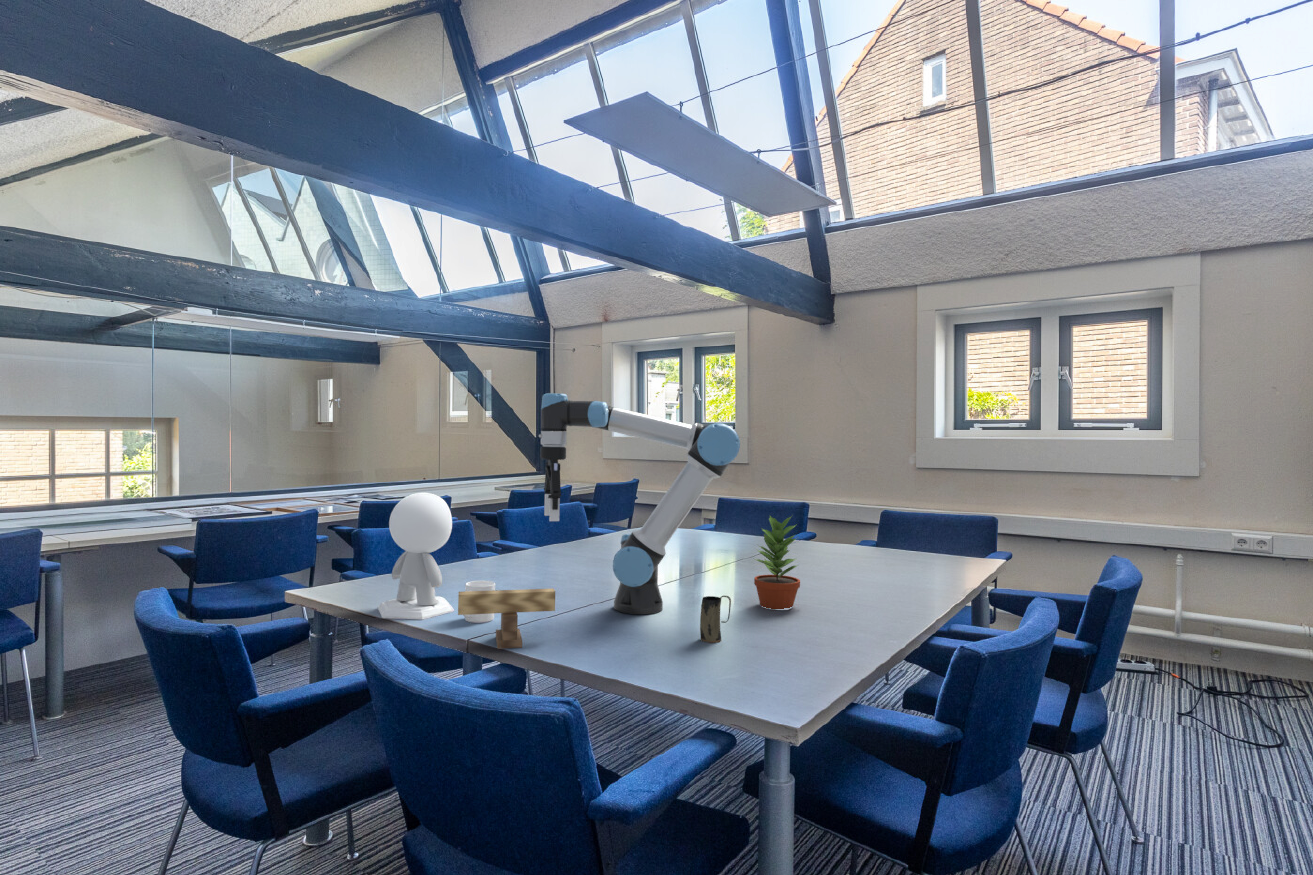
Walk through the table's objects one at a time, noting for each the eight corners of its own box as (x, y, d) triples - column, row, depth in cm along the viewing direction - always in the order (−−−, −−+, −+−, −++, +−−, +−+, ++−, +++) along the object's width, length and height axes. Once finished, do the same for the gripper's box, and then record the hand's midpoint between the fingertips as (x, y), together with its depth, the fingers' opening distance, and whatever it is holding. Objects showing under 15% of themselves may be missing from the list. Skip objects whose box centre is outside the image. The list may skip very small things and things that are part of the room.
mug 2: (697, 641, 182) (698, 595, 182) (702, 635, 187) (703, 591, 187) (726, 645, 179) (728, 598, 179) (731, 639, 184) (732, 594, 184)
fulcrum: (519, 636, 182) (519, 605, 182) (521, 647, 173) (522, 615, 173) (495, 637, 181) (496, 606, 181) (497, 648, 171) (498, 616, 171)
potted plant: (751, 600, 230) (753, 509, 230) (797, 602, 228) (800, 511, 227) (751, 611, 215) (753, 514, 215) (801, 614, 213) (803, 516, 213)
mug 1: (473, 628, 189) (474, 590, 189) (449, 624, 192) (450, 587, 192) (500, 618, 200) (501, 582, 200) (476, 614, 203) (477, 579, 203)
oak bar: (553, 607, 181) (553, 588, 181) (554, 610, 178) (555, 591, 178) (458, 611, 175) (458, 591, 175) (457, 614, 172) (458, 594, 172)
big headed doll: (468, 607, 210) (471, 492, 210) (404, 624, 191) (408, 497, 191) (425, 598, 221) (427, 488, 221) (360, 612, 201) (363, 492, 201)
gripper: (536, 444, 214) (534, 513, 214) (545, 446, 190) (543, 523, 190) (560, 445, 216) (558, 513, 216) (572, 447, 192) (570, 523, 192)
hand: (551, 518), depth 203 cm, fingers open, 13 cm apart
